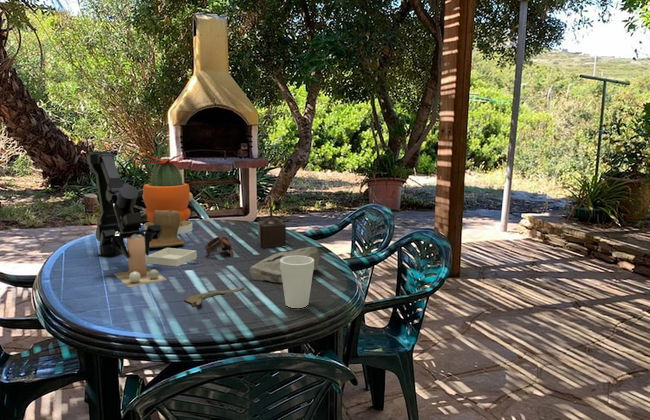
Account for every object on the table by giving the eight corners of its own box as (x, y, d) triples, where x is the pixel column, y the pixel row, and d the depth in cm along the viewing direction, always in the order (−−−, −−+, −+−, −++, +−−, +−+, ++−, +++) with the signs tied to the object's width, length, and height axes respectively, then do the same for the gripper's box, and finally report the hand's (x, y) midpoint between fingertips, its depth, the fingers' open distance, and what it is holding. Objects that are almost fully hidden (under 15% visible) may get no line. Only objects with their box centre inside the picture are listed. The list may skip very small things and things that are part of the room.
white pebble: (126, 283, 155) (126, 272, 154) (134, 279, 158) (133, 269, 157) (136, 284, 154) (135, 273, 153) (143, 281, 157) (142, 270, 156)
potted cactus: (148, 227, 238) (144, 153, 231) (196, 226, 240) (193, 153, 234) (136, 237, 216) (132, 156, 210) (189, 236, 219) (186, 156, 213)
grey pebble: (147, 279, 159) (146, 270, 158) (153, 276, 161) (152, 267, 161) (155, 280, 158) (154, 271, 157) (160, 277, 161) (160, 268, 160)
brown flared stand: (179, 241, 211) (178, 206, 209) (186, 247, 201) (185, 210, 198) (142, 245, 204) (140, 208, 202) (146, 251, 194) (144, 213, 191)
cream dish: (146, 264, 177) (145, 256, 176) (167, 255, 189) (167, 247, 188) (177, 267, 173) (176, 259, 173) (196, 258, 185) (196, 250, 184)
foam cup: (280, 299, 144) (280, 255, 141) (312, 298, 145) (312, 255, 142) (280, 311, 134) (280, 265, 132) (314, 311, 135) (315, 264, 133)
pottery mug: (232, 260, 185) (220, 242, 182) (211, 269, 187) (199, 252, 184) (239, 244, 196) (228, 227, 193) (219, 253, 198) (208, 237, 195)
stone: (297, 288, 155) (323, 270, 173) (297, 258, 153) (324, 243, 171) (246, 280, 162) (276, 264, 180) (246, 251, 160) (276, 238, 178)
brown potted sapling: (287, 247, 203) (287, 203, 200) (260, 248, 200) (260, 204, 197) (281, 238, 218) (281, 197, 215) (256, 239, 215) (255, 198, 212)
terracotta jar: (125, 276, 161) (122, 235, 159) (136, 271, 166) (133, 232, 164) (139, 278, 160) (137, 236, 157) (150, 273, 165) (147, 233, 162)
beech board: (113, 275, 164) (113, 273, 164) (150, 269, 171) (150, 267, 171) (128, 288, 151) (128, 286, 151) (167, 281, 159) (167, 279, 159)
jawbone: (174, 307, 140) (173, 299, 140) (223, 287, 157) (223, 281, 157) (198, 310, 135) (197, 303, 135) (246, 290, 153) (245, 283, 152)
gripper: (99, 205, 156) (111, 247, 150) (158, 200, 168) (172, 238, 161) (94, 225, 164) (106, 266, 157) (151, 219, 175) (164, 257, 168)
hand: (138, 256), depth 161 cm, fingers open, 6 cm apart
